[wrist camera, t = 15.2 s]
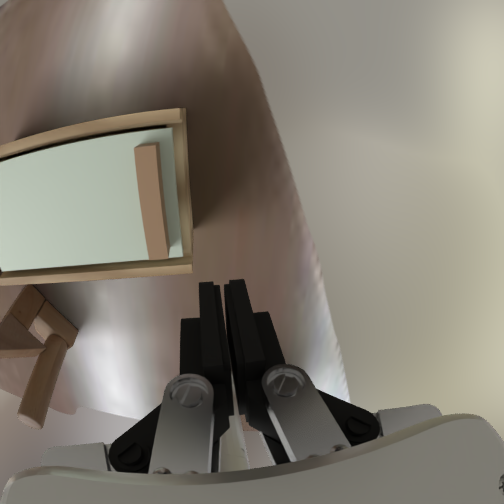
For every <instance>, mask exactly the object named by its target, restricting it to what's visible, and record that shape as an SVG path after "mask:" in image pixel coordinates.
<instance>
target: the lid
mask: <svg viewBox="0 0 504 504" xmlns="http://www.w3.org/2000/svg"><path fill="white" fill-rule="evenodd" d="M173 257H183V245H182V236H181V227H180V218H179V208H178V197H177V185H176V173H175V159H174V143H173V127H169V128H160V129H151V130H143V131H135V132H128V133H122V134H115V135H109V136H103V137H98V138H92V139H87V140H82V141H77V142H73V143H68V144H63V145H59V146H55V147H51V148H47V149H43V150H39V151H35V152H31V153H28V154H24V155H21V156H17V157H14V158H11V159H8V160H4V161H1V162H0V268H1V270H2V271H14V270H26V269H38V268H50V267H62V266H75V265H87V264H99V263H112V262H124V261H136V260H159V259H168V258H173Z"/></svg>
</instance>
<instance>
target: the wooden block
mask: <svg viewBox="0 0 504 504" xmlns="http://www.w3.org/2000/svg"><path fill="white" fill-rule="evenodd" d="M33 321H34V325H35V328H36V331H37V333H38V334H40V335H41V336H42V337H43V338H44V339H45V340H46V341H45V343H44V345H43V344H42V343H41V342H40V341H39V340H38V339H36V338H35V337H34V336H33V335H32V334H31V333H30V332H29V331H28V330H29V328H30V326H31V324H32V322H33ZM77 334H78V330H77V329H76V328H75V327H74V326H73V325H72V324H71V323H70V322H69V321H68V320H67V319H65V318H64V317H63V316H62V315H61V314H60V313H59V312H58V311H57V310H56V309H55V308H54V307H53V306H52V305H51V304H50V303H49V302H48V301H47V300H45V298H44V297H43V296H42V295H41V294H40V293H39V291H38V290H37V289H36V288H35V287H34V286H33V285H32V284H28V285H27V286H26V287H25V288H24V289H23V290H22V291H21V292H20V294H19V295H18V297H17V298H16V300H15V301H14V303H13V304H12V306H11V307H10V309H9V310H8V312H7V313H6V315H5V316H4V318H3V319H2V322H1V323H0V359H1V358H20V357H35V356H37V355H39V357H38V359H37V362H36V364H35V366H34V369H33V371H32V374H31V376H30V379H29V382H28V384H27V387H26V390H25V392H24V395H23V398H22V401H21V404H20V407H19V410H18V413H17V414H18V418H19V419H20V420H21V422H23V423H24V424H25V425H27V426H29V427H31V428H34V429H38V430H39V429H42V428H43V426H44V422H45V417H46V414H47V411H48V407H49V404H50V400H51V397H52V393H53V390H54V387H55V384H56V381H57V378H58V375H59V372H60V369H61V366H62V363H63V360H64V357H65V355H66V352H67V350H68V349H69V348H71V347H72V346H73V345H74V342H75V339H76V336H77Z"/></svg>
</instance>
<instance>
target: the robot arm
mask: <svg viewBox="0 0 504 504" xmlns="http://www.w3.org/2000/svg"><path fill="white" fill-rule="evenodd" d="M224 297H225V314H226V329H225V322H224V315H223V308H222V300H221V293H220V286H219V285H214V283H213V282H200V283H199V304H200V318H186V319H181V332H180V375H179V376H177V377H175V378H174V379H172V380H171V381H170V382H169V383H168V384H167V386H166V388H165V391H164V395H163V400H162V403H161V404H160V405H159V406H158V407H156V408H155V409H154V410H153V411H152V412H150V413H149V414H148V415H147V416H145V417H144V418H143V419H142V420H140V421H139V422H138V423H137V424H135V425H134V426H133V427H132V428H130V429H129V430H128V431H126V432H125V433H124V434H123V435H121V436H120V437H119V438H117V439H116V440H115V441H114V442H113V443H112V444H104V443H103V442H101V443H93V444H83V445H72V446H58V447H52V448H49V449H48V450H46V451H45V452H44V454H43V455H42V459H41V467H34V468H29V469H25V470H23V471H20V472H18V473H16V474H14V475H13V476H12V477H11V478H10V479H9V480H8V482H7V484H6V486H5V488H4V491H3V494H2V498H1V502H0V504H504V441H503V440H502V439H501V437H500V436H499V434H498V433H497V432H496V430H495V429H494V428H493V427H492V426H491V425H490V424H489V423H488V422H487V421H486V420H485V419H484V418H482V417H480V416H477V415H474V414H451V415H444V416H442V414H441V412H440V410H439V409H437V408H436V407H435V406H433V405H430V404H422V405H415V406H409V407H401V408H393V409H385V410H378V412H377V413H370V412H369V411H367V410H365V409H362V408H360V407H357V406H355V405H352V404H350V403H348V402H345V401H343V400H341V399H338V398H336V397H334V396H331V395H329V394H327V393H325V392H322V391H320V390H318V389H316V388H315V386H314V384H313V383H312V381H311V379H310V378H309V376H308V375H307V373H306V372H305V371H304V370H303V369H301V368H299V367H298V366H295V365H292V364H286V363H285V360H284V357H283V354H282V351H281V348H280V345H279V341H278V338H277V335H276V332H275V329H274V326H273V323H272V320H271V317H270V315H269V312H268V311H267V312H257V313H253V311H252V307H251V303H250V300H249V296H248V292H247V288H246V284H245V281H244V279H239V280H229V284H225V285H224ZM226 330H227V336H226ZM227 342H228V343H227ZM230 363H231V364H230ZM231 369H232V371H231ZM243 414H245V417H246V422H249V425H250V426H251V427H253V428H255V429H257V430H258V431H259V434H260V437H261V439H262V441H263V444H264V446H265V449H266V451H267V453H268V456H269V458H270V460H271V463H272V465H273V466H268V467H261V468H254V469H250V466H249V461H248V456H247V451H246V445H245V440H244V435H243V429H242V424H241V418H240V415H243Z"/></svg>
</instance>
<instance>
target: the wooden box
mask: <svg viewBox="0 0 504 504" xmlns="http://www.w3.org/2000/svg"><path fill="white" fill-rule="evenodd" d="M169 127H173V143H174V159H175V173H176V185H177V197H178V208H179V218H180V227H181V236H182V245H183V257H173V258H168V259H159V260H136V261H124V262H112V263H99V264H87V265H75V266H62V267H50V268H38V269H26V270H14V271H4V272H3V273H2V274H1V276H0V285H1V286H4V285H24V284H42V283H59V282H76V281H91V280H106V279H121V278H135V277H149V276H162V275H175V274H188V273H193V219H192V207H191V194H190V180H189V164H188V146H187V123H186V108H175V109H165V110H156V111H148V112H140V113H133V114H126V115H120V116H114V117H109V118H103V119H98V120H93V121H88V122H83V123H79V124H74V125H70V126H66V127H62V128H58V129H54V130H50V131H46V132H43V133H39V134H36V135H32V136H29V137H26V138H22V139H19V140H16V141H13V142H10V143H7V144H4V145H1V146H0V162H1V161H4V160H8V159H11V158H14V157H17V156H21V155H24V154H28V153H31V152H35V151H39V150H43V149H47V148H51V147H55V146H59V145H63V144H68V143H73V142H77V141H82V140H87V139H92V138H98V137H103V136H109V135H115V134H122V133H128V132H135V131H143V130H151V129H160V128H169Z"/></svg>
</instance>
